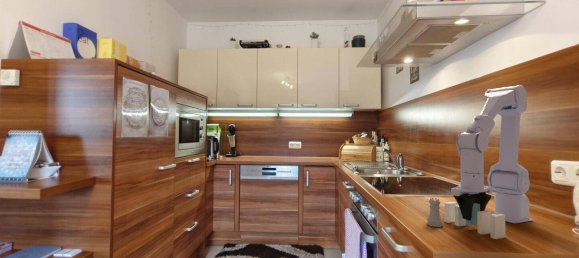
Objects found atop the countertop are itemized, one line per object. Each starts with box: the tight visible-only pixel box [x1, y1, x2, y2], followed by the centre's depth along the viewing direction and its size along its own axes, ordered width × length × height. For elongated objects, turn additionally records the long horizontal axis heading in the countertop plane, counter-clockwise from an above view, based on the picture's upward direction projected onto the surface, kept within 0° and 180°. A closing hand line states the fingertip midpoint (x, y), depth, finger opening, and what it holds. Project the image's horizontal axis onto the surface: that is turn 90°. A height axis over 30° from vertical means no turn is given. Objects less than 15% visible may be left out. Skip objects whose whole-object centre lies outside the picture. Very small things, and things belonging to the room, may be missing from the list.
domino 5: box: [490, 214, 506, 240], centre depth 71 cm, size 4×1×6 cm, turn 109°
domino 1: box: [444, 201, 458, 224], centre depth 85 cm, size 4×1×6 cm, turn 109°
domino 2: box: [454, 204, 468, 227], centre depth 81 cm, size 4×1×6 cm, turn 109°
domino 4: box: [477, 210, 493, 235], centre depth 75 cm, size 4×1×6 cm, turn 109°
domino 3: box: [466, 203, 480, 226], centre depth 78 cm, size 4×1×6 cm, turn 104°
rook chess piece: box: [426, 197, 444, 228], centre depth 81 cm, size 4×4×8 cm
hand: (472, 218), depth 78 cm, fingers closed on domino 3, 4 cm apart
